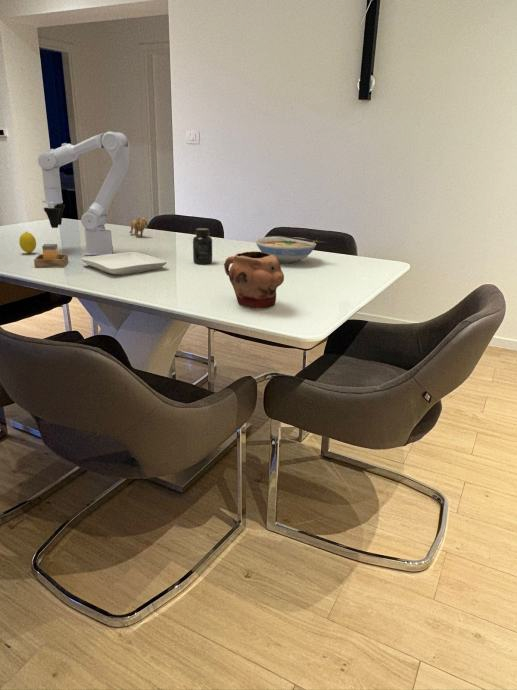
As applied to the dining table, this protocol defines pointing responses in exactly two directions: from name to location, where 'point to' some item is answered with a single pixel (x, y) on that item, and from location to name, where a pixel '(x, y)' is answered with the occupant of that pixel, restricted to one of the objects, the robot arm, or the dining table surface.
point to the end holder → (51, 261)
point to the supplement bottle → (202, 247)
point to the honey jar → (50, 251)
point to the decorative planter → (254, 278)
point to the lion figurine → (138, 226)
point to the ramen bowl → (287, 247)
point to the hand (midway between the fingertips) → (56, 226)
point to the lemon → (27, 242)
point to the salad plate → (124, 263)
